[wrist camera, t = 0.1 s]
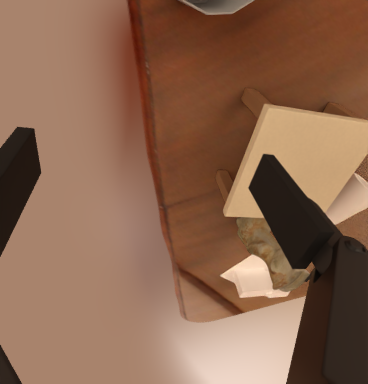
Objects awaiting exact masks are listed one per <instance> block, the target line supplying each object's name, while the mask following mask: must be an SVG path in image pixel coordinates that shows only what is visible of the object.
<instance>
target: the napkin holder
mask: <svg viewBox="0 0 368 384" xmlns="http://www.w3.org/2000/svg"><path fill="white" fill-rule="evenodd" d="M220 276H221V277H223V278H225V279H227V280H229V281H231V282H233V283H235V284H236V287H237V290H238V293H239V296H240V298H242V297H254V296H265V295H266V296H267V297H268V298H272V297H284V296H287V295H288V294H289V292H290V291H289V292H283V291H281V290H279V289H278V290H274V289H273V288H272V286H273V284H272V281H271V278H270V274H269V270H268V267H267V265H266V263H265V262H264V261H263V260H262V259H261V258H259V257H257V256H255V255H253V254H252V255H251V256H249V257H248V258H246V259H245V260H243V261H242V262H240V263H238V264H237V265H235V266H234V267H232V268H231V269H229V270H228V271H226V272H225V273H223V274H222V275H220Z"/></svg>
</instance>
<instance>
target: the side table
mask: <svg viewBox="0 0 368 384" xmlns="http://www.w3.org/2000/svg"><path fill="white" fill-rule="evenodd" d="M241 100H242V102H243V103H244V104H245V105H246V106H247V107H248V108H249V109H250V111H251V112H252V113H253V114H254V115H255V116H256V117H257V119H258V121H257V124H256V127H255V129H254V132H253V134H252V137H251V139H250V142H249V145H248V147H247V150H246V152H245V155H244V157H243V160H242V162H241V165H240V168H239V170H238V173H237V175H236V178H235V180H234V183H233V182H232V179H231V177H230V175H229V173H228V171H226V170H217V173H216V176H215V179H216V182H217V184H218V187H219V189H220V192H221V194H222V197H223V199H224V202H225V206H224V209H223V213H224V215H225V216H227V217H250V218H264V216H263V214H262V212H261V211H260V209H259V207H258V205H257V203H256V201H255V200H254V198H253V196H252V194H251V192H250V190H249V189H248V187H249V185H250V182H251V180H252V178H253V176H254V173H255V171H256V169H257V166H258V164H259V162H260V160H261V157H262V155H263V154H270V155H274V156H275V157H276V158H277V160H278V161H279V162H280V163H281V165H282V166H283V167H284V168H285V170H286V171H287V172H288V173H289V175H290V176H291V177H292V178H293V180H294V181H295V182H296V183H297V185H298V186H299V187H300V188H301V190H302V191H303V192H304V194H305V195H306V196H307V197H308V198H310V199H312V200H313V201H314V202H315V203H317V204H318V205H319V206H320V208H321V209H322V210H323V212H324V213H325V212H326V211H327V210H328V208H329V207H330V205H331V204H332V203H333V201H334V200H335V198H336V197H337V196H338V194H339V193H340V191H341V190H342V189H343V187H344V186H345V184H346V183H347V182H348V180H349V179H350V178H351V176H352V175H353V173H354V172H355V171H356V169H357V168H358V166H359V165H360V164H361V162H362V161H363V159H364V158H365V157H366V155H367V154H368V120H364V119H362V118H361V117H359V116H357V115H356V114H354V113H352V112H351V111H349V110H347V109H346V108H344V107H342V106H341V105H339V104H337V103H331V102H328V104H327V105H326V107H325V109H324V111H323V113H320V112H314V111H308V110H302V109H295V108H289V107H283V106H277V105H273V104H272V103H271V102H269V101H268V100H267V99H266V98H265V97H264V96H263V95H262V94H261V93H259V92H258V91H257V90H256V89H251V88H245V89H244V92H243V95H242V98H241Z"/></svg>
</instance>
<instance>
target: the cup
mask: <svg viewBox="0 0 368 384" xmlns="http://www.w3.org/2000/svg"><path fill="white" fill-rule="evenodd" d="M178 1H180V2H182V3H184V4H186V5H188V6H190V7H192V8H194V9H196V10H198V11H200V12H202V13H204V14H206V15H216V14H233V13H235V12H236V11H238V10H240V9H241V8H243V7H244V6H246V5H248V4H249V3H251V2H252V1H254V0H178Z"/></svg>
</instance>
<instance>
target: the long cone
mask: <svg viewBox="0 0 368 384" xmlns="http://www.w3.org/2000/svg"><path fill="white" fill-rule="evenodd" d="M366 208H368V182H367V181H365V180H364V179H363V178H362V177H361V176H359V175H358V174H356V173H353V175H352V176H351V178H350V179H349V180H348V182H347V183H346V184H345V186H344V187H343V189H342V190H341V191H340V193H339V194H338V196H337V197H336V198H335V200H334V201H333V203H332V204H331V205H330V207H329V208H328V210H327V211H326V212H325V214H326V215H327V216H328V218H329V219H330V220H331V221H332V222H333V224H334V225H336V224H338V223H340V222H342V221H344V220H346V219H347V218H349V217H351V216H353V215H355V214H356V213H358V212H360V211H362V210H364V209H366Z"/></svg>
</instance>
